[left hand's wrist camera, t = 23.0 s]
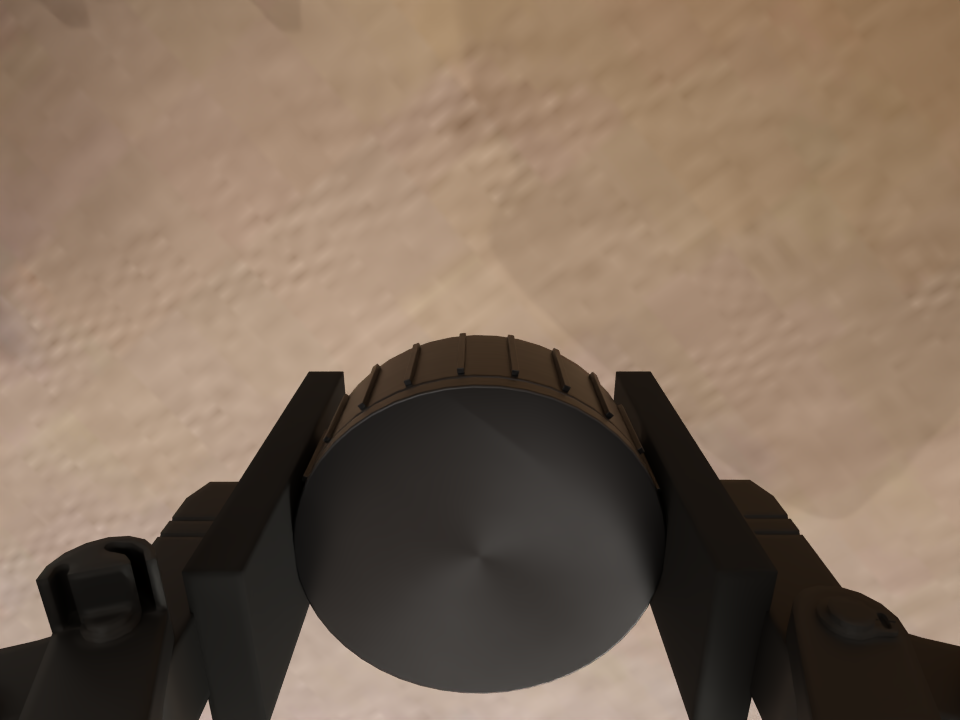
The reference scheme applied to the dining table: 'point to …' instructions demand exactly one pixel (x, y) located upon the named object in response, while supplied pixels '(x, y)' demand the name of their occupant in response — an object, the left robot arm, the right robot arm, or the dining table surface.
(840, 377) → the dining table surface
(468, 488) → the lid
